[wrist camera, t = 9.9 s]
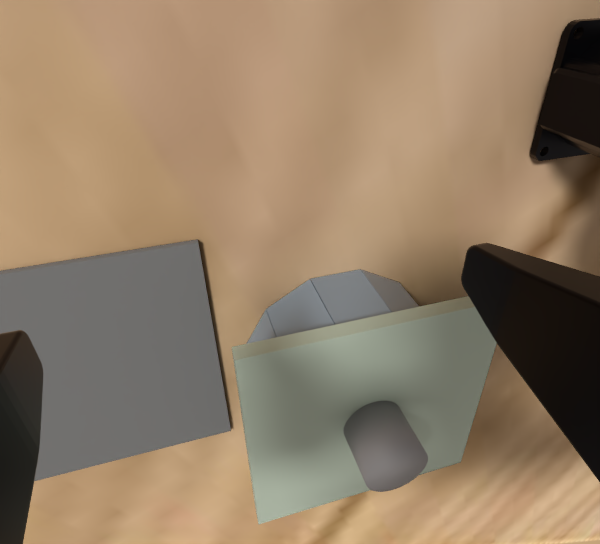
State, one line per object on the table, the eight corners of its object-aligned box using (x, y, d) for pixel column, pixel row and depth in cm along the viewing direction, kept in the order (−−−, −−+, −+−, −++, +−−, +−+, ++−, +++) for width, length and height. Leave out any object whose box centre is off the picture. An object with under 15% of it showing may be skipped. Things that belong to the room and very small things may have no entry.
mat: (197, 239, 21) (198, 242, 21) (230, 426, 29) (231, 430, 29) (-153, 295, 18) (-157, 299, 18) (-11, 487, 26) (-12, 492, 26)
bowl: (425, 257, 26) (476, 308, 22) (404, 386, 32) (441, 446, 28) (236, 292, 24) (256, 358, 20) (253, 425, 30) (271, 496, 26)
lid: (499, 289, 22) (553, 337, 19) (453, 451, 29) (487, 504, 26) (231, 346, 19) (248, 415, 16) (255, 510, 26) (270, 577, 23)
